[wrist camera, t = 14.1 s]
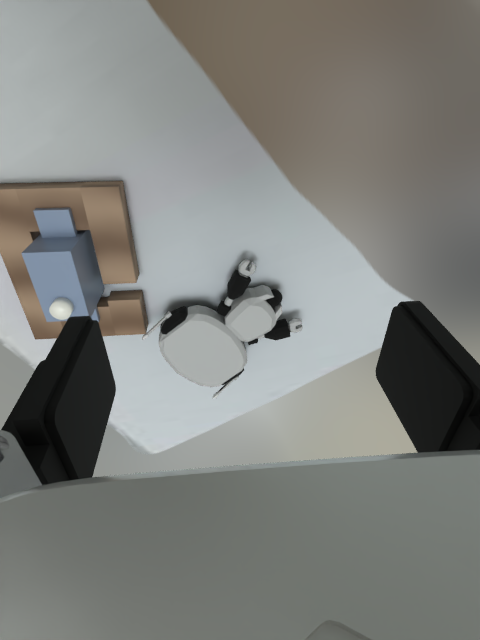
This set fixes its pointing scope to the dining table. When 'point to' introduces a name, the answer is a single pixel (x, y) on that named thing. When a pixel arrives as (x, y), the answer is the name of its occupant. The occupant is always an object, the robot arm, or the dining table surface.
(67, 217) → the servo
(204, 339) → the robot toy
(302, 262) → the dining table surface
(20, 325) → the dining table surface
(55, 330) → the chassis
